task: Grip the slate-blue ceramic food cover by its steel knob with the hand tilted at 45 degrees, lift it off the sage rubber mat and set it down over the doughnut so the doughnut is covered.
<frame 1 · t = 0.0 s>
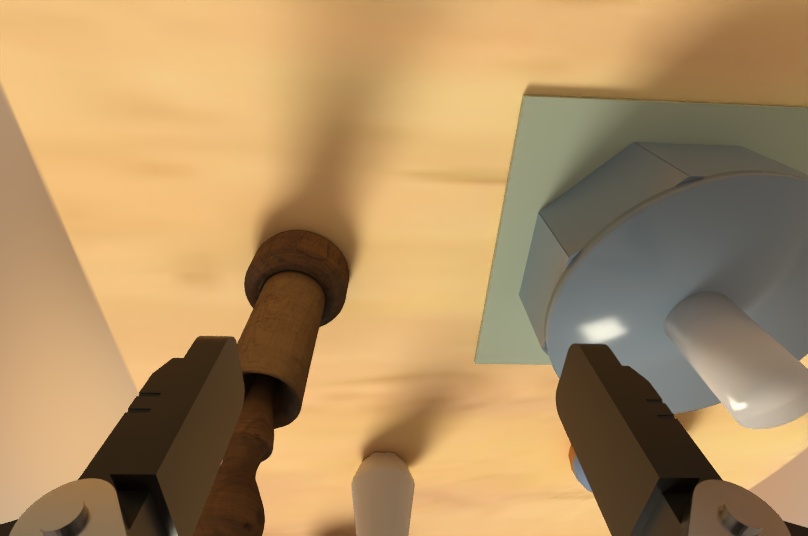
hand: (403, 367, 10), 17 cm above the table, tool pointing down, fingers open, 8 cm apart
doughnut: (616, 435, 41), on the table
dark brown tall piece: (302, 270, 29), on the table
rubber mat: (638, 255, 29), on the table
food cover: (641, 258, 29), resting on rubber mat
salt shaker: (383, 462, 42), on the table
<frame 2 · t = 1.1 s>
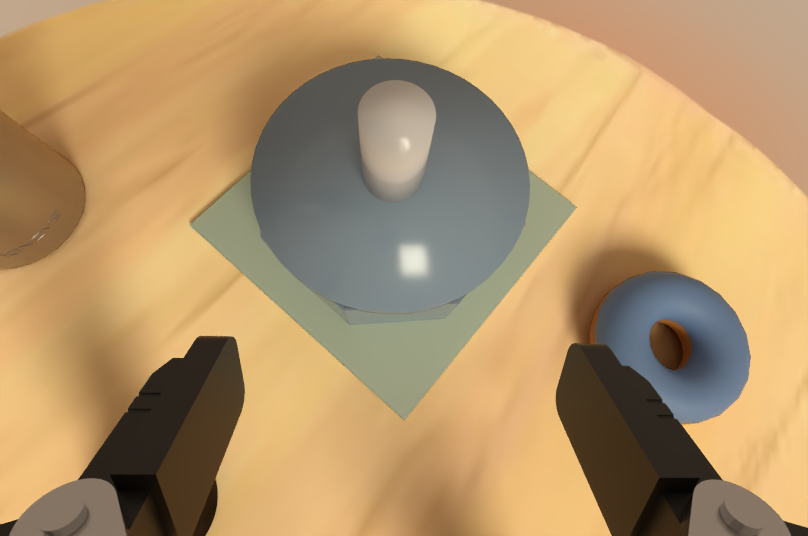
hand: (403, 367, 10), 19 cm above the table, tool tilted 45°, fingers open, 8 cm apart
doughnut: (647, 348, 31), on the table
dark brown tall piece: (164, 501, 26), on the table
rubber mat: (389, 217, 32), on the table
food cover: (390, 215, 31), resting on rubber mat
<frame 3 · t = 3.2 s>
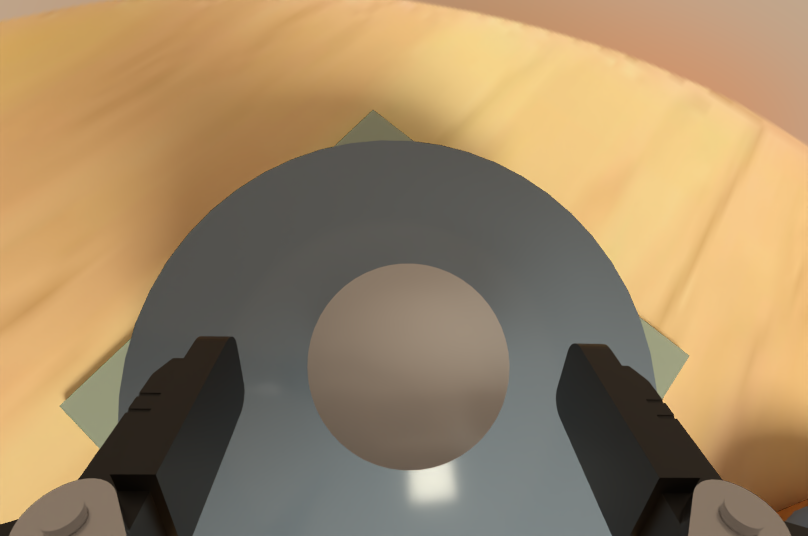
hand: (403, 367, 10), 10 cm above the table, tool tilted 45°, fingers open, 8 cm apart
rubber mat: (391, 379, 20), on the table
food cover: (391, 379, 19), resting on rubber mat
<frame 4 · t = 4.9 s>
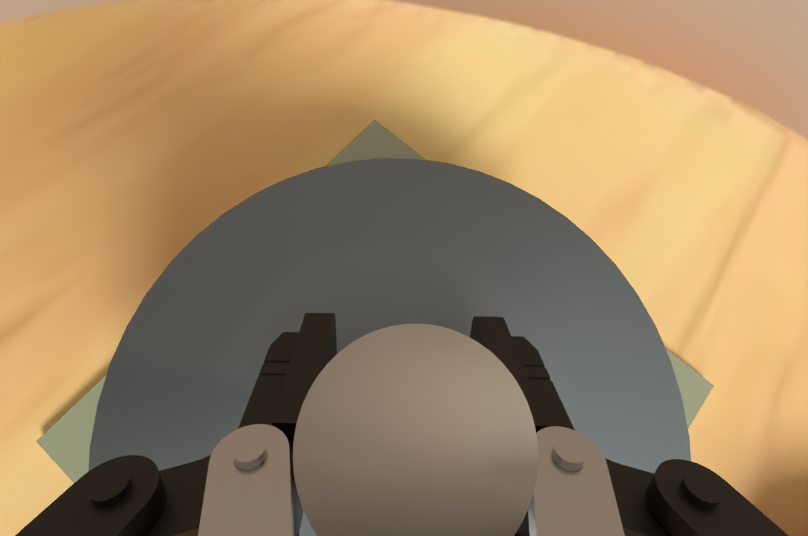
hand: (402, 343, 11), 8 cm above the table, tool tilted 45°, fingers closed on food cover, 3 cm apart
rubber mat: (393, 411, 18), on the table
food cover: (393, 411, 18), resting on rubber mat, touching gripper
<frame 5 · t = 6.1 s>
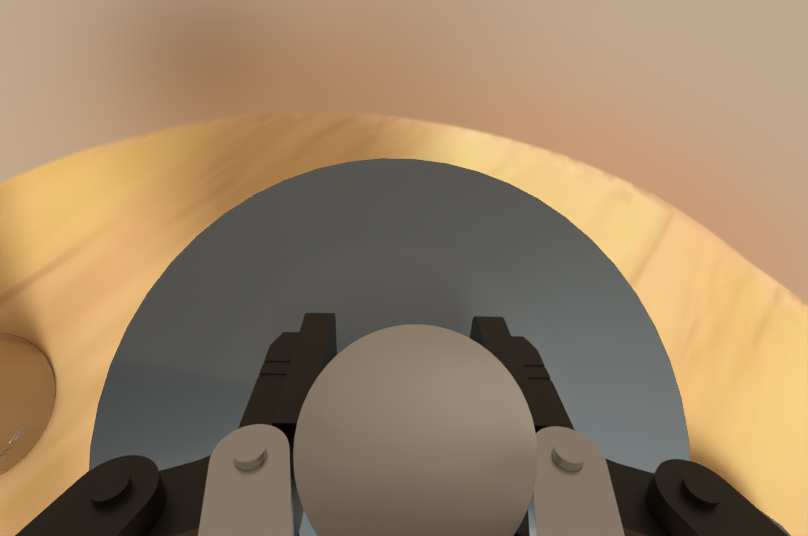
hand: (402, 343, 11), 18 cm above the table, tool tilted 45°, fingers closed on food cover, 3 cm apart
food cover: (393, 411, 18), point 11 cm above the table, touching gripper
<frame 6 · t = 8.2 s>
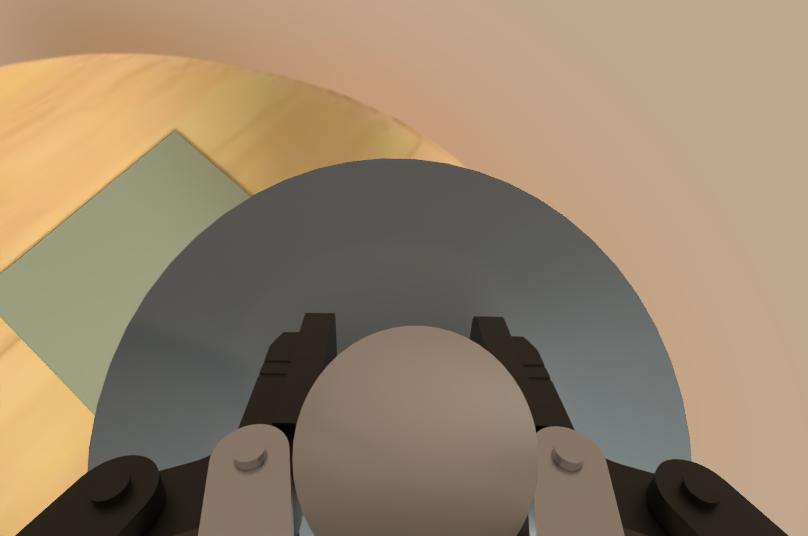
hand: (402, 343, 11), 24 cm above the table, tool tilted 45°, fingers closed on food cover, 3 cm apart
rubber mat: (165, 283, 35), on the table
food cover: (393, 412, 18), point 16 cm above the table, touching gripper
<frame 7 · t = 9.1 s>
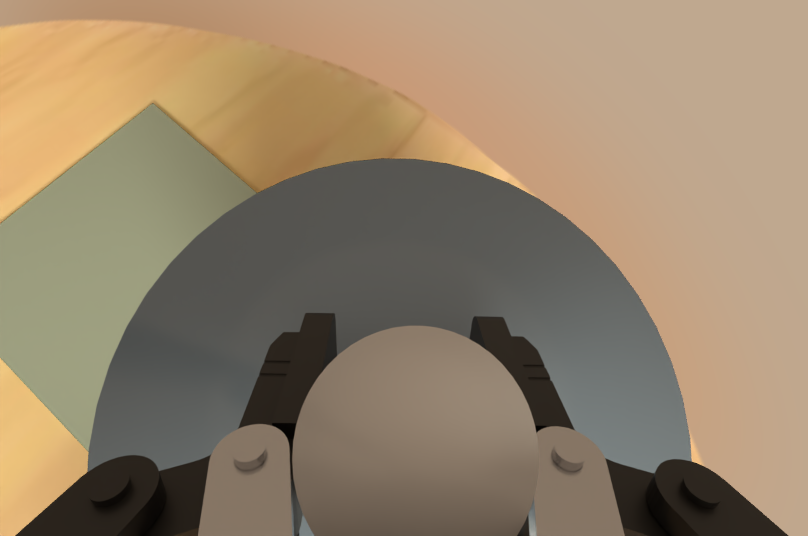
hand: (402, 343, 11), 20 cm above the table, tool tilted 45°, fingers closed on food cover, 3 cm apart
rubber mat: (139, 270, 32), on the table
food cover: (393, 412, 18), point 13 cm above the table, touching gripper
when the fingers open (9 cm above the table, at t = 11.7 s): food cover drops 1 cm, on the table.
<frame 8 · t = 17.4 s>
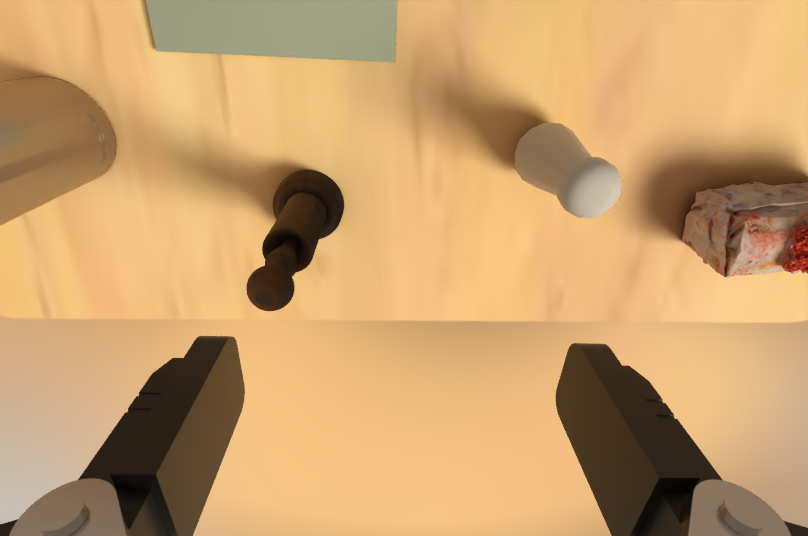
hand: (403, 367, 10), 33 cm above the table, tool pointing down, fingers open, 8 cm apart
food item: (738, 208, 45), on the table
dark brown tall piece: (311, 200, 43), on the table
salt shaker: (537, 149, 41), on the table
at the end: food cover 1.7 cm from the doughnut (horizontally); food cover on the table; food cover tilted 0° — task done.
